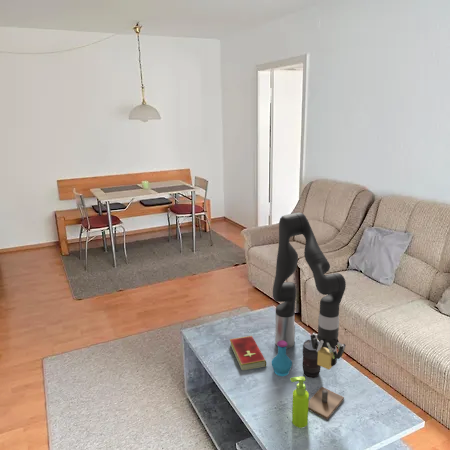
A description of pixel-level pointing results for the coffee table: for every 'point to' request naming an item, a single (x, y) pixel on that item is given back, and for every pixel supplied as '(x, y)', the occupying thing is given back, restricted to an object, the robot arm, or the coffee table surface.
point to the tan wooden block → (324, 358)
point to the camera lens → (310, 360)
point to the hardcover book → (247, 353)
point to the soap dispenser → (300, 403)
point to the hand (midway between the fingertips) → (326, 362)
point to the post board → (325, 406)
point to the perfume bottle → (281, 360)
